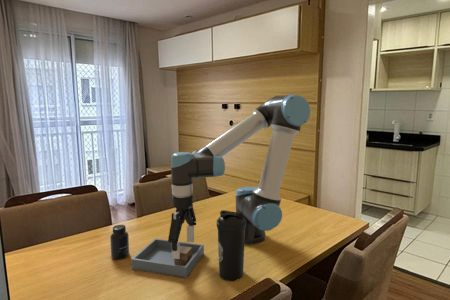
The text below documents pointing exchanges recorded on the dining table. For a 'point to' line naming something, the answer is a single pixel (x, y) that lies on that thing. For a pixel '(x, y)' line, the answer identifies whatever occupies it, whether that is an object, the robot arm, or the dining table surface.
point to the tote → (165, 259)
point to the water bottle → (231, 244)
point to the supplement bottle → (119, 242)
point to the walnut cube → (184, 256)
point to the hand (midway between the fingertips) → (183, 249)
